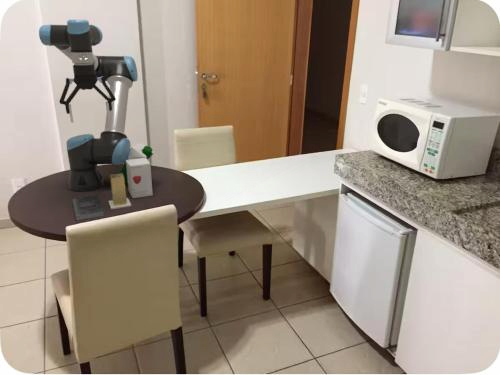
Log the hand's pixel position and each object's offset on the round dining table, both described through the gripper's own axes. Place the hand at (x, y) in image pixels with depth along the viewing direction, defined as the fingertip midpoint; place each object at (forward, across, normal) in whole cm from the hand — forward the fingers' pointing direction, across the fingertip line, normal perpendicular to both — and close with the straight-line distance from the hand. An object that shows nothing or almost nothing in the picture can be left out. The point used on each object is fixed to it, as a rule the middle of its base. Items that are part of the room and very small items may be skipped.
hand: (90, 120), depth 166 cm
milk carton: (+33, +14, +19) cm, 41 cm away
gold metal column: (+34, +7, -6) cm, 35 cm away
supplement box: (+35, +17, +3) cm, 39 cm away
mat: (+35, +7, -5) cm, 36 cm away
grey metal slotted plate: (+35, -6, -6) cm, 36 cm away
